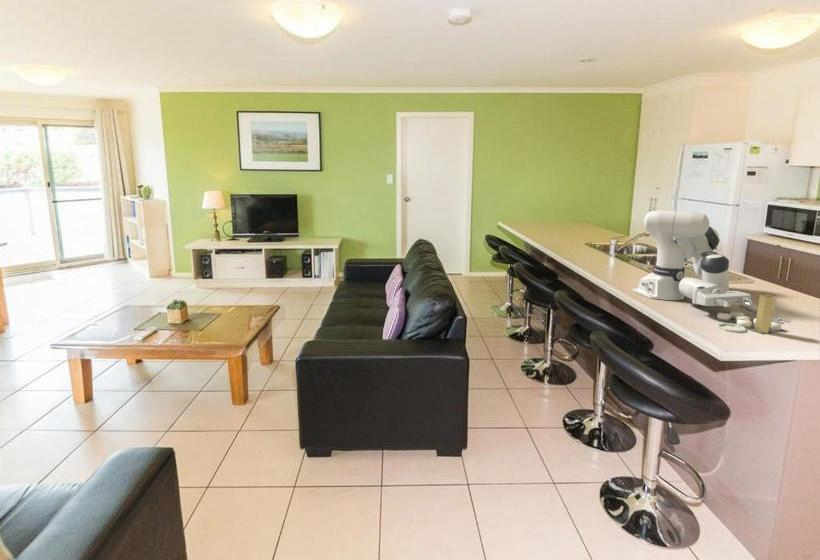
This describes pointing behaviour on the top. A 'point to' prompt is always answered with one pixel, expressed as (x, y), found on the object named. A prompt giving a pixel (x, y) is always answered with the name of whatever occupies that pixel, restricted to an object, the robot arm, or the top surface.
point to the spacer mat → (745, 321)
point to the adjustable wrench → (750, 309)
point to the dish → (730, 329)
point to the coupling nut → (765, 313)
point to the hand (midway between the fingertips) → (739, 304)
